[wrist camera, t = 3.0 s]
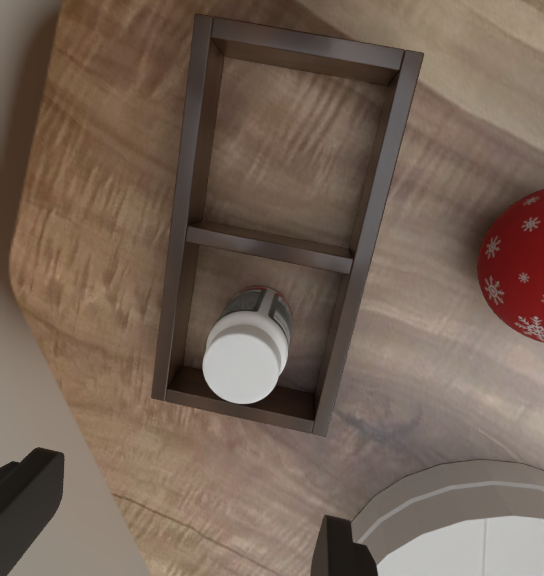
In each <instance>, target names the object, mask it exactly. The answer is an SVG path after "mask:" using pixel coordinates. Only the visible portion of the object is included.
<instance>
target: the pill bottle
mask: <svg viewBox="0 0 544 576" xmlns="http://www.w3.org/2000/svg"><path fill="white" fill-rule="evenodd" d="M291 329H292V313H291V309H290V307H289V305H288V303H287V301H286V300H285V299H284V298H283V297H282V296H281V295H280V294H279V293H278V292H276V291H274V290H272V289H270V288H267V287H261V286H255V287H249V288H246V289H244V290H242V291H240V292H239V293H237V294H236V295H235V296H234V297H233V298H232V299H231V301H230V302H229V304H228V305H227V307H226V308H225V310H224V311H223V313H222V314H221V316H220V317H219V319H218V320H217V322H216V323H215V325H214V326H213V328H212V330H211V332H210V334H209V336H208V339H207V344H206V352H205V355H204V358H203V374H204V377H205V380H206V382H207V384H208V385H209V387H210V388H211V389H212V390H213V392H214V393H216V394H217V395H218V396H219V397H221V398H223V399H225V400H227V401H229V402H232V403H237V404H249V403H254V402H257V401H259V400H261V399H263V398H265V397H266V396H267V395H268V394H269V393H270V392H271V391H272V390H273V389H274V387H275V385H276V383H277V381H278V377H279V375H280V374H281V373H282V371H283V369H284V367H285V365H286V362H287V358H288V352H289V344H290V336H291Z"/></svg>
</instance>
